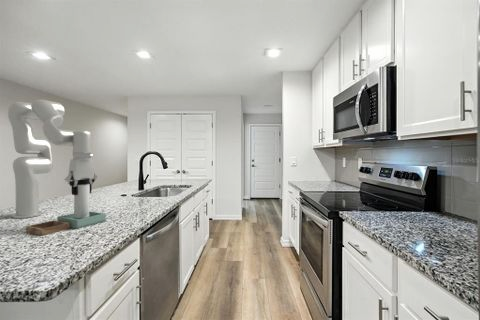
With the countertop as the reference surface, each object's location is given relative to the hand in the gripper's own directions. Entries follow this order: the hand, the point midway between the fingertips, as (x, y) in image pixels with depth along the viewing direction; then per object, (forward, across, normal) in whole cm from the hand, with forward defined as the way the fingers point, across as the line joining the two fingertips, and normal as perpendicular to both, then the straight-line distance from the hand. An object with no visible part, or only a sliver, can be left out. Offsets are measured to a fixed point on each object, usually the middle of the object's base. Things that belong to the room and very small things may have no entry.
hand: (81, 193), depth 126 cm
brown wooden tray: (+14, +14, -2) cm, 20 cm away
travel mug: (+12, 0, 0) cm, 12 cm away
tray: (+14, 0, 0) cm, 14 cm away
